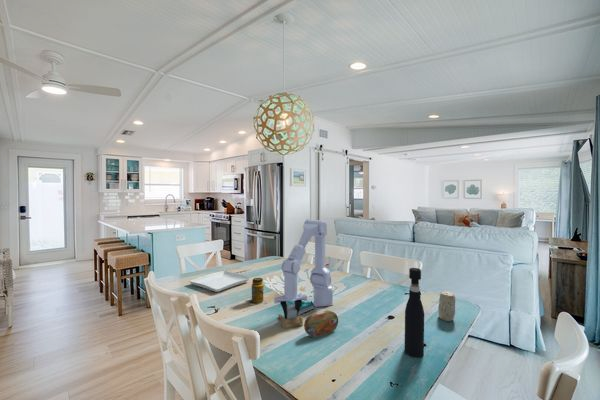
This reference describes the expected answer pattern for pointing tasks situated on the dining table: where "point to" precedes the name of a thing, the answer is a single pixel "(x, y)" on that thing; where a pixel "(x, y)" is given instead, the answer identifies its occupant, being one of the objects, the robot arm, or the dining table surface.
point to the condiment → (257, 292)
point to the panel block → (291, 312)
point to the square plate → (220, 280)
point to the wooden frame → (291, 321)
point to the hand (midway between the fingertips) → (290, 317)
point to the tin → (320, 323)
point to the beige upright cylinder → (446, 306)
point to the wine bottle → (414, 317)
